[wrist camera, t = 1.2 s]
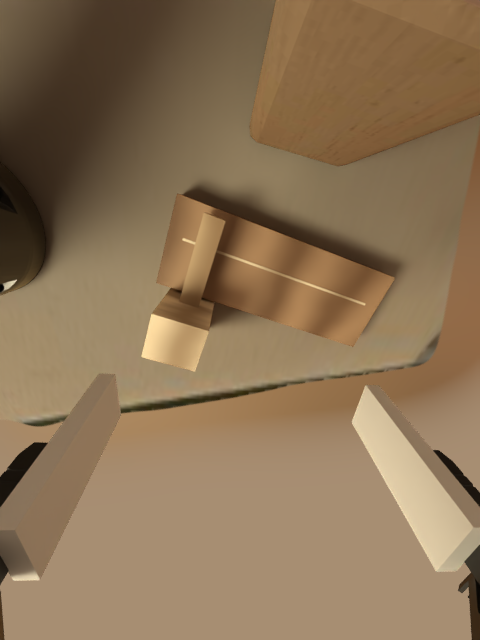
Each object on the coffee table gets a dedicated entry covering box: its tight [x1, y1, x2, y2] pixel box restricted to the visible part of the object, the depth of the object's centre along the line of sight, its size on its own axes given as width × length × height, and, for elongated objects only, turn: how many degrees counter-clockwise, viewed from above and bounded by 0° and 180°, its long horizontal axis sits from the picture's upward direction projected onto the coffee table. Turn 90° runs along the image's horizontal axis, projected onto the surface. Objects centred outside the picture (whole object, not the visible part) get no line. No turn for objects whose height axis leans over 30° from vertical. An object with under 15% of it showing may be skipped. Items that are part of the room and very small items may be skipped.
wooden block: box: [250, 0, 480, 166], centre depth 14 cm, size 10×10×20 cm
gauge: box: [142, 212, 226, 372], centre depth 25 cm, size 5×14×9 cm, turn 160°
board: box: [156, 194, 395, 347], centre depth 28 cm, size 24×9×2 cm, turn 70°
